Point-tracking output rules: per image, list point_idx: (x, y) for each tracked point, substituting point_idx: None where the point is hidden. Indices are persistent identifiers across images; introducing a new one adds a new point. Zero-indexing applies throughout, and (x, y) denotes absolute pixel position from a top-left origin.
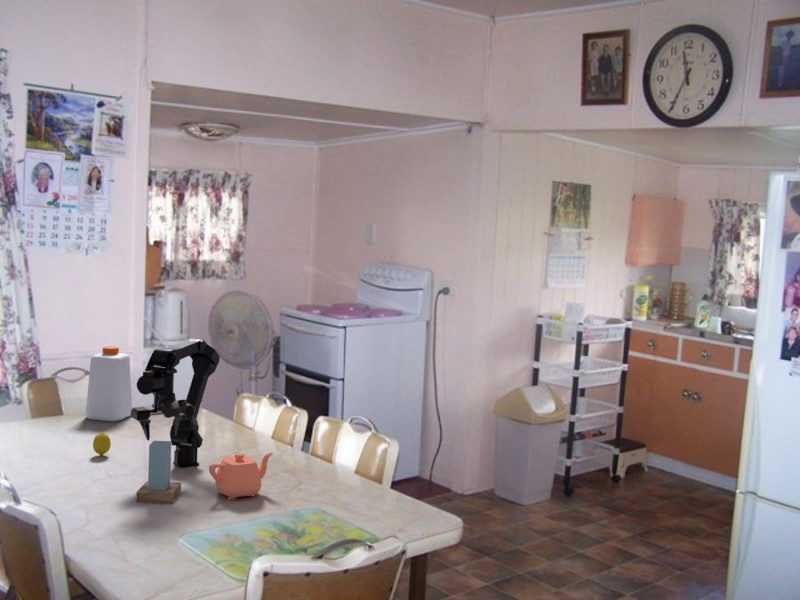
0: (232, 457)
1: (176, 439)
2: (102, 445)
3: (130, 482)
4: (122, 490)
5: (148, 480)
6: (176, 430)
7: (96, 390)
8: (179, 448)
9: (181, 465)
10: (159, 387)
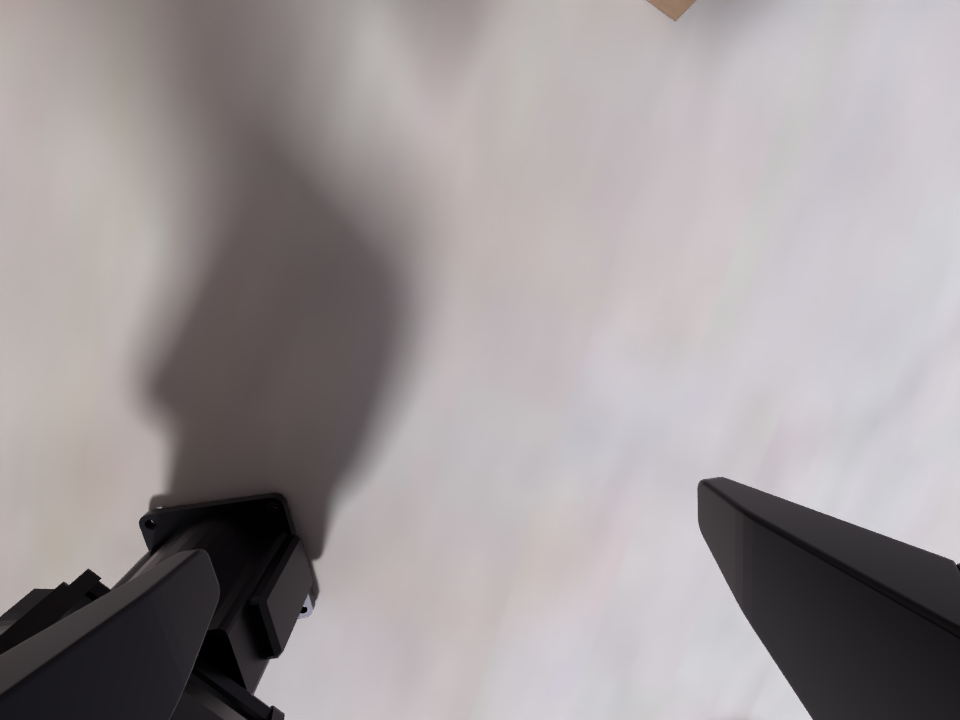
0: None
1: (219, 713)
2: None
3: (703, 295)
4: (824, 122)
5: None
6: (132, 658)
7: None
8: (232, 631)
9: (275, 513)
10: None
